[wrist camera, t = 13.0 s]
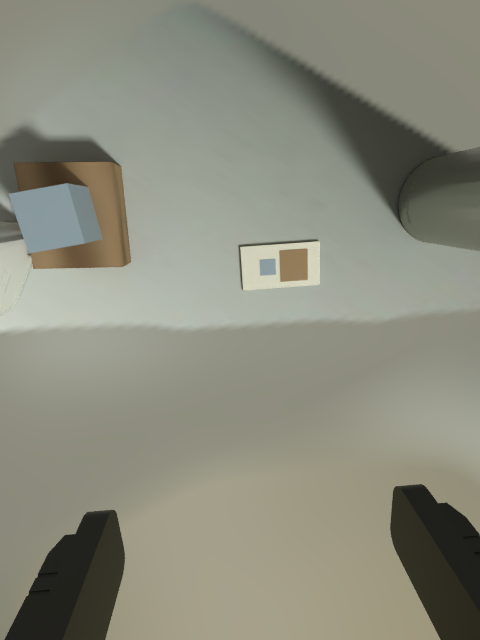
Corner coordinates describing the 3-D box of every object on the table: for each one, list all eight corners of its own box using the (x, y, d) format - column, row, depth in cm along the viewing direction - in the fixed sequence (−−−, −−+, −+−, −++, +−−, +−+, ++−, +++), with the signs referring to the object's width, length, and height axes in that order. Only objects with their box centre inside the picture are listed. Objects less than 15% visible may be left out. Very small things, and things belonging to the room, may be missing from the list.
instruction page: (318, 241, 41) (319, 241, 40) (318, 284, 42) (319, 284, 42) (240, 246, 40) (240, 247, 40) (243, 289, 42) (243, 290, 42)
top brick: (88, 187, 35) (67, 183, 30) (102, 239, 36) (84, 243, 31) (37, 196, 35) (8, 193, 30) (54, 247, 36) (28, 253, 31)
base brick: (122, 166, 38) (110, 161, 34) (131, 261, 41) (122, 266, 37) (35, 167, 37) (13, 162, 34) (51, 263, 40) (33, 268, 37)
